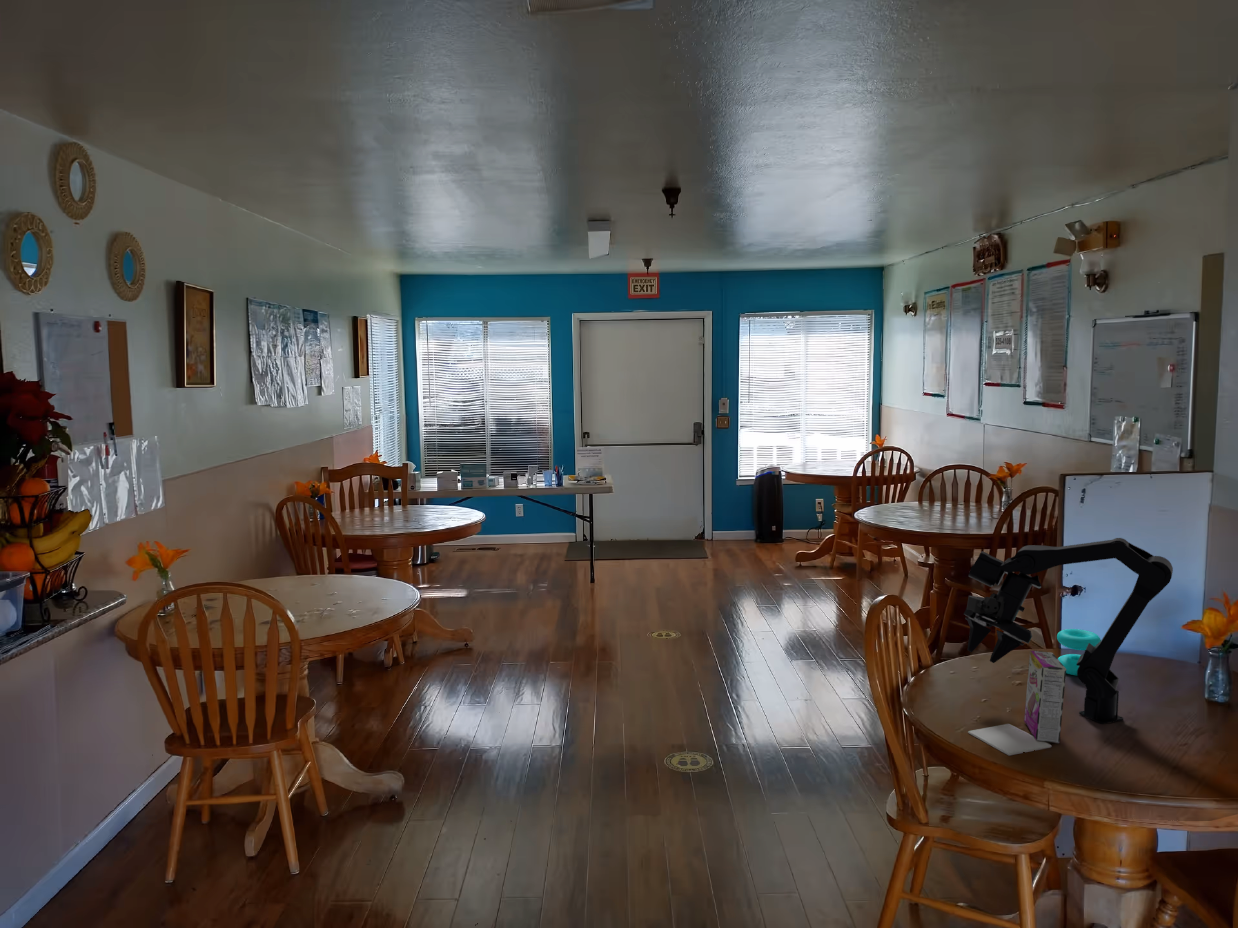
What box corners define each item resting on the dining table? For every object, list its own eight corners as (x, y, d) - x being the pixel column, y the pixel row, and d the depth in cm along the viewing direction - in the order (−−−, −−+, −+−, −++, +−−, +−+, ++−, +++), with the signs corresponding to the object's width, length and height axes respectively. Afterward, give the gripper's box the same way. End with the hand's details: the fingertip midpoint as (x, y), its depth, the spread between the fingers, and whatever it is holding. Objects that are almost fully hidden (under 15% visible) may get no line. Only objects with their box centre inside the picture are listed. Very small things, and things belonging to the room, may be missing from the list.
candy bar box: (1022, 721, 199) (1029, 649, 198) (1046, 724, 198) (1053, 651, 197) (1034, 741, 188) (1042, 665, 187) (1060, 744, 187) (1068, 668, 186)
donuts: (1050, 627, 235) (1088, 627, 235) (1048, 664, 236) (1087, 664, 236) (1068, 639, 225) (1108, 639, 225) (1067, 678, 226) (1107, 677, 226)
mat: (1008, 725, 198) (1008, 723, 198) (1051, 747, 187) (1051, 745, 187) (968, 732, 195) (968, 731, 194) (1008, 755, 183) (1008, 753, 183)
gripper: (961, 573, 216) (931, 631, 216) (1007, 589, 198) (974, 652, 197) (998, 594, 218) (968, 651, 218) (1046, 611, 200) (1015, 673, 199)
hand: (980, 656), depth 208 cm, fingers open, 9 cm apart
